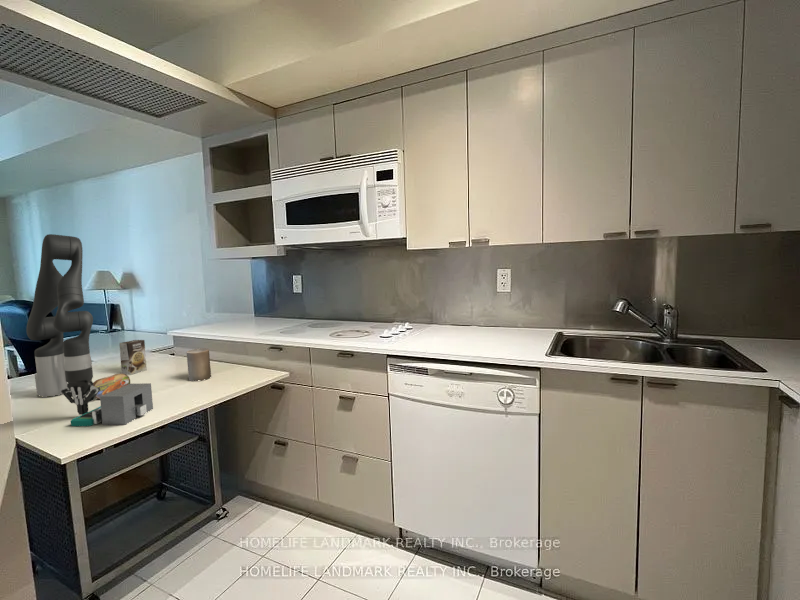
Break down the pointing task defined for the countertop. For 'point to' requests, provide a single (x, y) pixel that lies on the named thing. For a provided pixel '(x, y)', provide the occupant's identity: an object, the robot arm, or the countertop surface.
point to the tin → (111, 383)
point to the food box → (133, 356)
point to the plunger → (97, 414)
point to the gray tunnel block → (125, 403)
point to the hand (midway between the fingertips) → (83, 413)
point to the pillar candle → (198, 364)
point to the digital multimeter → (84, 419)
